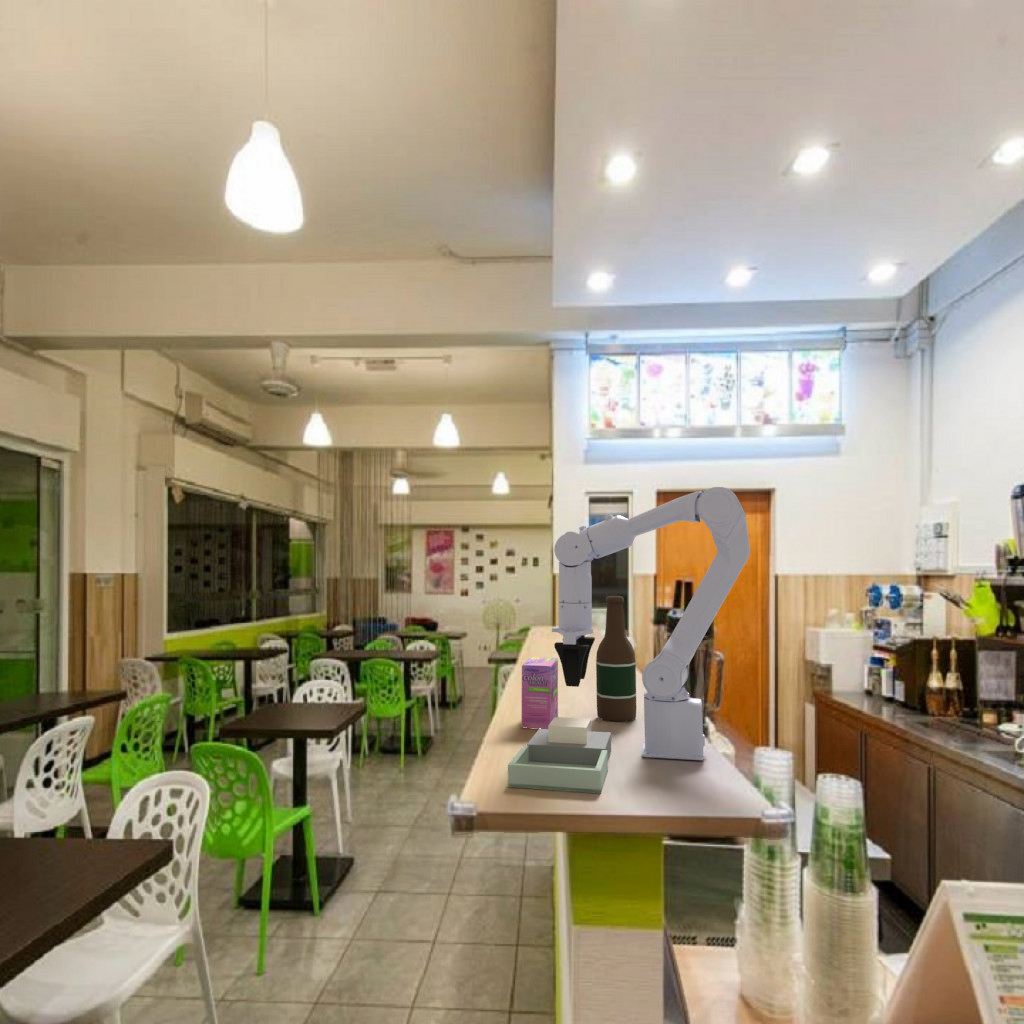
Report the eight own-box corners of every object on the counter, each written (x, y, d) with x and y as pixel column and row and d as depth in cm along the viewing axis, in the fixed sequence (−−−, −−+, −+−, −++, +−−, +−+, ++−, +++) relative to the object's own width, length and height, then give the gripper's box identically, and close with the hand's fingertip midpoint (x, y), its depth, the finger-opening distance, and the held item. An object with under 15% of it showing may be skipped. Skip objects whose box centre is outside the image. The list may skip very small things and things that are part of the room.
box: (551, 730, 126) (550, 665, 127) (521, 728, 127) (520, 664, 128) (559, 717, 136) (558, 657, 137) (530, 716, 138) (530, 656, 138)
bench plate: (611, 751, 112) (610, 732, 112) (605, 769, 102) (605, 748, 102) (539, 746, 115) (539, 728, 115) (527, 764, 105) (526, 744, 105)
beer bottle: (636, 714, 139) (634, 595, 140) (636, 723, 131) (634, 597, 133) (597, 712, 140) (596, 595, 142) (595, 721, 132) (594, 597, 134)
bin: (608, 769, 102) (607, 749, 102) (600, 793, 92) (600, 770, 92) (524, 764, 105) (524, 744, 105) (508, 786, 95) (508, 764, 95)
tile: (591, 734, 111) (591, 718, 111) (586, 744, 105) (586, 727, 105) (554, 732, 112) (554, 717, 112) (548, 742, 106) (548, 725, 107)
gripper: (559, 599, 126) (559, 674, 125) (544, 604, 112) (544, 689, 111) (597, 600, 124) (597, 675, 123) (587, 605, 110) (588, 690, 109)
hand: (575, 682), depth 117 cm, fingers open, 7 cm apart
